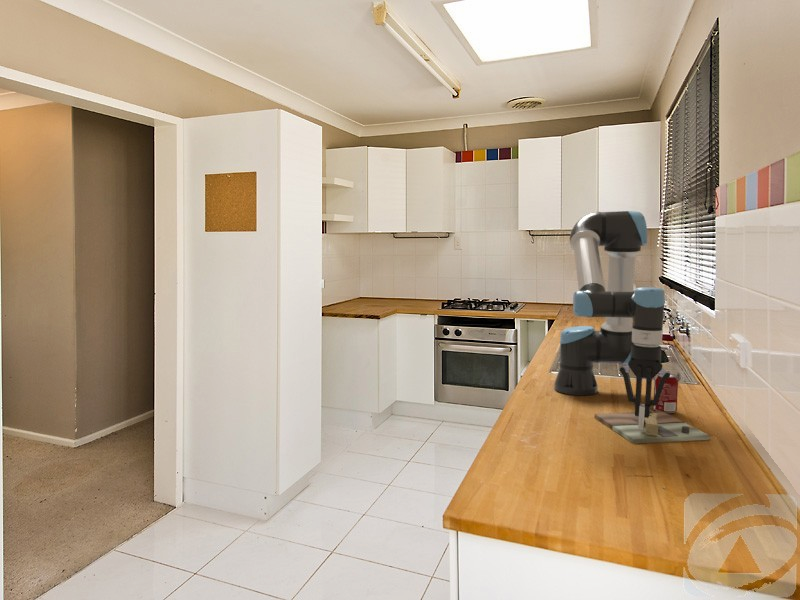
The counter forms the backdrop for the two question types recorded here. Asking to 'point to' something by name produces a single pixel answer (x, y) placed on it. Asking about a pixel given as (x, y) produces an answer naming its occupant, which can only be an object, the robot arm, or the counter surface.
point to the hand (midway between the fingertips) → (641, 427)
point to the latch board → (628, 428)
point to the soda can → (667, 394)
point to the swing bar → (651, 424)
